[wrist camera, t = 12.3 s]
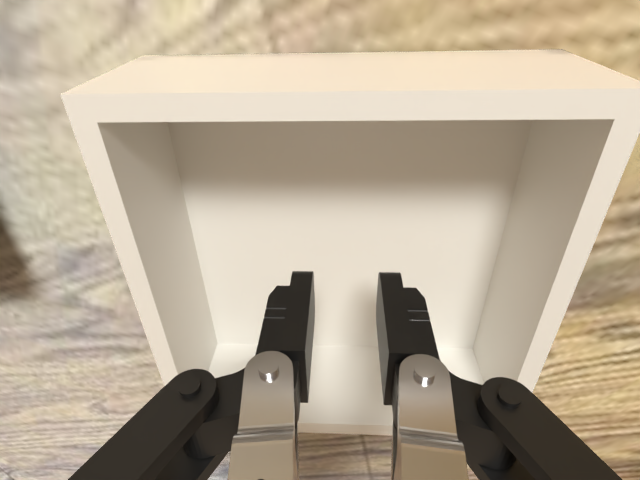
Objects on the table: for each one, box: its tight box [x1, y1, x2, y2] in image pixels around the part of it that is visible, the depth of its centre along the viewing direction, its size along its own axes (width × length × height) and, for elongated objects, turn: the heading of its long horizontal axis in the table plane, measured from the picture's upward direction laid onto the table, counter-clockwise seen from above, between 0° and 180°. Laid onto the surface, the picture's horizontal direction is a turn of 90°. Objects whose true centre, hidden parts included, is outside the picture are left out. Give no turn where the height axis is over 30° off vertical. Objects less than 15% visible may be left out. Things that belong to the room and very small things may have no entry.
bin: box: [60, 49, 640, 435], centre depth 16 cm, size 14×14×5 cm
